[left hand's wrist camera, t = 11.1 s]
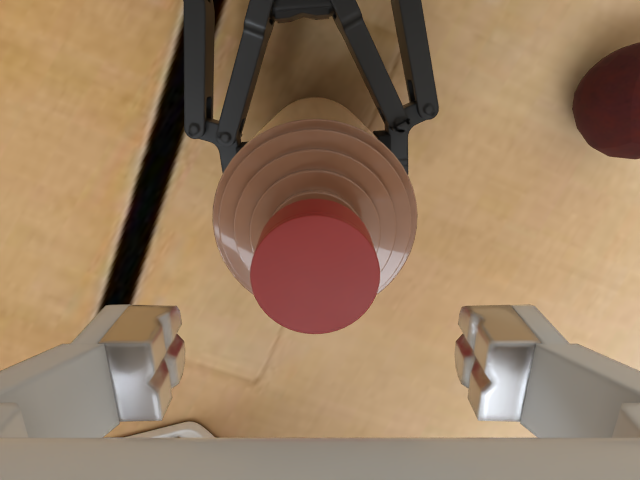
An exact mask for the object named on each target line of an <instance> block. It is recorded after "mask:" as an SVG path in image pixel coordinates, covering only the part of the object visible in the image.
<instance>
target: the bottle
mask: <svg viewBox="0 0 640 480" xmlns="http://www.w3.org/2000/svg"><path fill="white" fill-rule="evenodd" d="M306 199H325V200H330V201H334V202H336V203H339V204H341V205H343V206H345V207H347V208H348V209H350V210H351V211H353V212H354V213H355V214H356V215H357V216H358V217H359V218H360V219H361V220H362V222H363V223H364V225H365V226H366V228H367V230H368V232H369V234H370V237H371V240H372V243H373V246H374V248H375V251H376V254H377V257H378V261H379V266H380V283H379V288H378V291H377V294H378V293H379V292H381V291H382V290H383V289H384V288H385V287H386V286H387V285H388V284H390V283H391V281H392V280H393V279H394V278H395V277H396V276H397V274H398V273H399V272H400V270H401V269H402V267H403V265H404V264H405V262H406V260H407V258H408V256H409V254H410V252H411V249H412V246H413V243H414V240H415V234H416V229H417V205H416V199H415V194H414V190H413V187H412V184H411V182H410V179H409V177H408V175H407V173H406V171H405V169H404V168H403V166H402V164H401V163H400V162H399V160H398V159H397V158H396V156H395V155H394V154H393V153H392V152H391V151H390V150H389V149H388V148H387V147H386V146H385V145H384V144H383V143H382V142H381V141H380V140H379V139H378V138H377V137H376V136H375V135H374V134H373V133H372V132H371V131H370V130H369V129H368V128H367V127H366V126H365V125H364V124H363V123H362V122H361V121H360V120H359V119H358V118H357V117H356V116H355V115H354V114H353V113H352V112H351V111H350V110H348V109H347V108H346V107H345V106H343V105H341V104H340V103H338V102H336V101H333V100H330V99H326V98H320V97H309V98H303V99H300V100H297V101H295V102H293V103H290V104H289V105H287V106H286V107H284V108H283V109H282V110H281V111H280V112H279V113H277V114H276V115H275V116H274V117H273V118H272V119H271V120H270V121H269V122H268V123H267V124H266V125H265V126H264V127H263V128H262V129H261V130H260V131H259V132H258V133H257V134H256V135H255V136H254V137H253V138H252V139H251V140H250V141H249V142H248V143H247V144H245V145H244V146H243V147H242V148H241V149H240V151H239V152H238V153H237V154H236V155H235V156H234V157H233V159H232V160H231V161H230V163H229V164H228V166H227V168H226V169H225V171H224V173H223V175H222V177H221V179H220V181H219V184H218V187H217V190H216V194H215V198H214V205H213V228H214V235H215V239H216V243H217V246H218V249H219V251H220V254H221V256H222V258H223V260H224V262H225V264H226V265H227V267H228V269H229V270H230V271H231V273H232V274H233V275H234V277H235V278H236V279H237V280H238V281H239V282H240V283H241V284H242V285H243V286H244V287H245V288H246V289H247V290H248V291H250V292H251V293H252V294H253V295H254V293H253V291H252V287H251V281H250V267H251V262H252V258H253V255H254V252H255V250H256V247H257V244H258V241H259V238H260V235H261V232H262V230H263V228H264V227H265V225H266V224H267V222H268V221H269V219H270V218H271V217H272V216H273V215H274V214H275V213H277V212H278V211H279V210H280V209H282V208H284V207H285V206H287V205H289V204H291V203H294V202H297V201H300V200H306ZM377 294H376V295H377Z"/></svg>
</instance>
